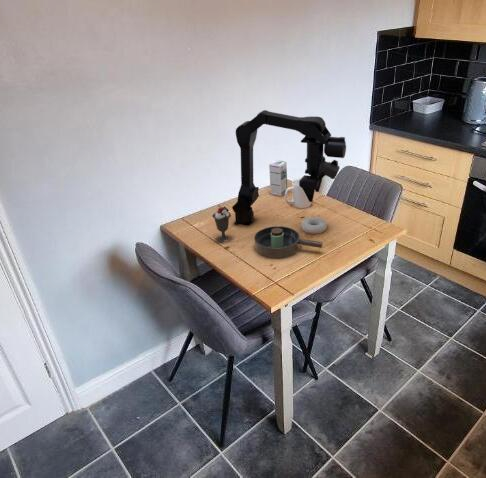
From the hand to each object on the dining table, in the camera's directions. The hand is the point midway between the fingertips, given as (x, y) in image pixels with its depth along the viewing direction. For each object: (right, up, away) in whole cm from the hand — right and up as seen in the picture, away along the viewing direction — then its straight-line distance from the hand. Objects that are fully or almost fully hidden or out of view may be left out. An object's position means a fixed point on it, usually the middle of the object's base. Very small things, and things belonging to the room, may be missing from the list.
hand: (314, 196), depth 156 cm
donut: (+1, -12, +9) cm, 15 cm away
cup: (-5, -1, +28) cm, 29 cm away
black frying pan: (-13, -19, -2) cm, 23 cm away
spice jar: (-13, -18, -3) cm, 23 cm away
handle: (-2, -18, -7) cm, 19 cm away
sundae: (-33, -16, +4) cm, 37 cm away
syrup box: (-13, +5, +40) cm, 42 cm away
